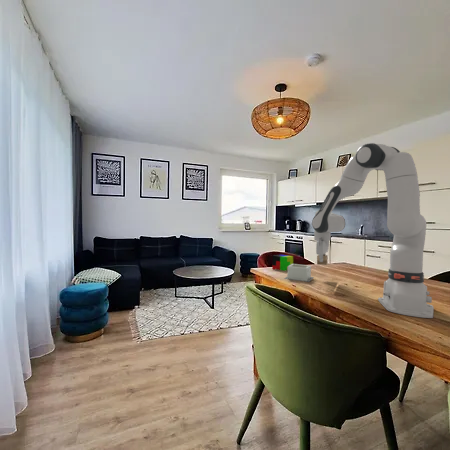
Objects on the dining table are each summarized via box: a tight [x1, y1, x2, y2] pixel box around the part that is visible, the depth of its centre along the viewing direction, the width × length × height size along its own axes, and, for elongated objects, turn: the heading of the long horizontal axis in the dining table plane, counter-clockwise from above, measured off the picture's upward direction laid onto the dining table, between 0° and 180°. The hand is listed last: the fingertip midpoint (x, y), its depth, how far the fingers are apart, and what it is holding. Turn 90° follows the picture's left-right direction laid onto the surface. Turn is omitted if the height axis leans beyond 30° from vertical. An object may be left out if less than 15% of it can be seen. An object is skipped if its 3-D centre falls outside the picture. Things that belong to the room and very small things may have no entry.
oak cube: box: [316, 254, 329, 266], centre depth 146 cm, size 5×5×5 cm
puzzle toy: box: [271, 254, 294, 272], centre depth 175 cm, size 10×10×10 cm
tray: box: [283, 276, 314, 283], centre depth 146 cm, size 14×14×1 cm
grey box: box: [286, 263, 312, 282], centre depth 146 cm, size 11×11×7 cm
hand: (322, 261), depth 146 cm, fingers closed on oak cube, 5 cm apart
